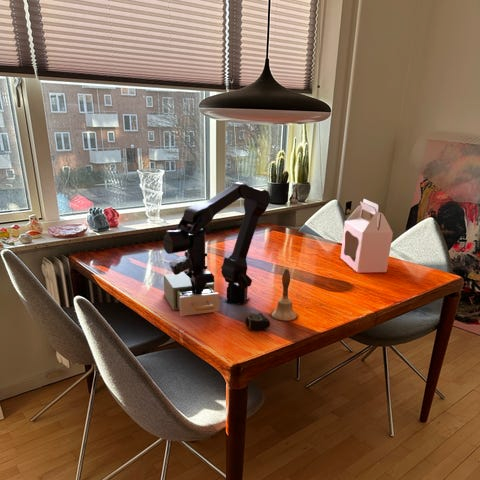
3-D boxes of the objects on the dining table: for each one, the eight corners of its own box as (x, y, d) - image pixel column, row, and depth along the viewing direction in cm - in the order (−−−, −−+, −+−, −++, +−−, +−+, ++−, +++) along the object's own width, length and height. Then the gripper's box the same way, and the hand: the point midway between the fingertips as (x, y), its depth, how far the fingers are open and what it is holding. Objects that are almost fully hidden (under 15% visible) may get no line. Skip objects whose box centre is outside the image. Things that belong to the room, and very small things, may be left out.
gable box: (340, 258, 214) (347, 197, 203) (366, 257, 216) (375, 197, 204) (357, 273, 194) (366, 206, 183) (386, 272, 196) (397, 206, 184)
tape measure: (270, 331, 140) (271, 319, 138) (249, 333, 137) (250, 322, 136) (262, 322, 145) (262, 311, 144) (242, 324, 143) (242, 313, 142)
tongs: (208, 295, 152) (208, 288, 152) (211, 298, 150) (211, 292, 149) (182, 297, 149) (181, 291, 148) (184, 301, 147) (184, 295, 146)
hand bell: (275, 321, 146) (278, 274, 139) (268, 311, 153) (271, 265, 147) (300, 320, 148) (304, 273, 141) (292, 310, 155) (296, 265, 148)
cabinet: (214, 305, 157) (214, 283, 153) (173, 310, 152) (173, 287, 148) (201, 291, 169) (201, 270, 166) (164, 295, 164) (163, 274, 161)
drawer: (224, 317, 145) (224, 299, 143) (185, 322, 141) (184, 304, 139) (206, 297, 162) (206, 280, 159) (171, 301, 157) (170, 283, 155)
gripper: (164, 243, 148) (166, 288, 154) (178, 259, 132) (179, 308, 139) (197, 240, 152) (197, 285, 158) (214, 256, 136) (214, 304, 142)
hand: (196, 295), depth 149 cm, fingers closed on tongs, 3 cm apart
